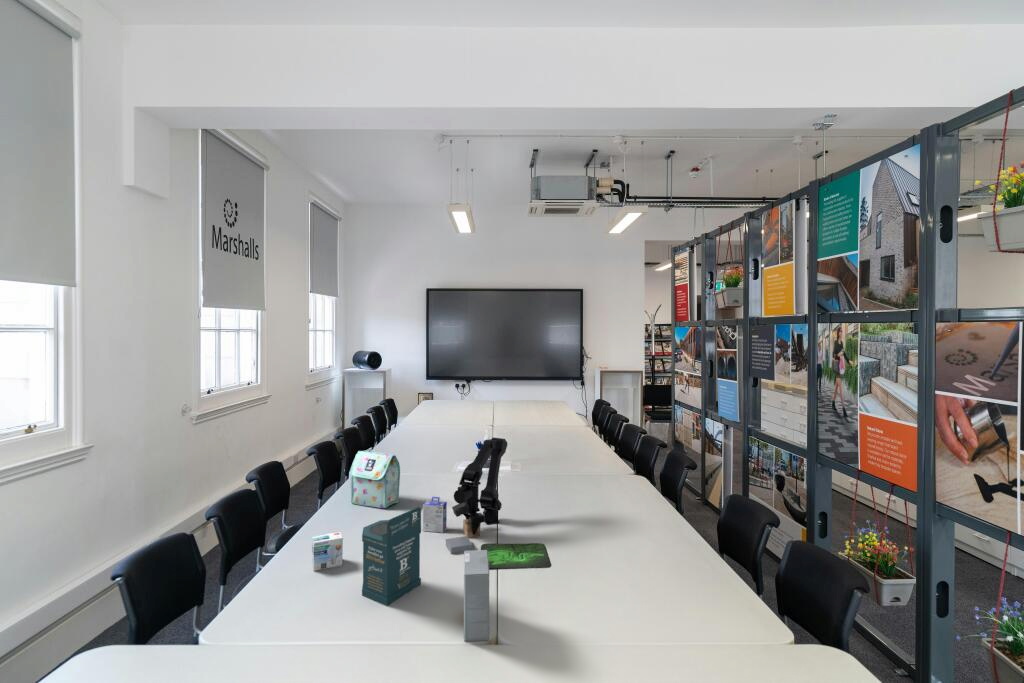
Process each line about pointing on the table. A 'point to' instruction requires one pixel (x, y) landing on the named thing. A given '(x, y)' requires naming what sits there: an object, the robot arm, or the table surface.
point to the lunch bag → (375, 479)
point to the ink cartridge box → (434, 515)
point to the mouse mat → (517, 556)
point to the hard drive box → (476, 595)
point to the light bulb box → (327, 551)
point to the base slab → (459, 544)
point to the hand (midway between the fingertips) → (471, 531)
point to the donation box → (392, 557)
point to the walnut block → (469, 529)
